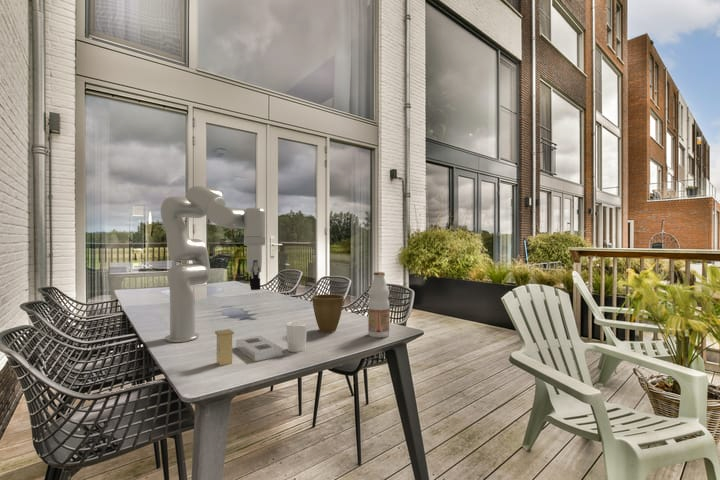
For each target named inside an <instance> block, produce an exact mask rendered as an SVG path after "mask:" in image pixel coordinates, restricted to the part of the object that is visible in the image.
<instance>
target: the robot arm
mask: <svg viewBox="0 0 720 480" xmlns="http://www.w3.org/2000/svg"><path fill="white" fill-rule="evenodd" d="M185 195H186V197H185V196H169V197H166V198H164V200H163V201H162V202H161V203H162V204H161V206H160V216H161V217H160V218H161V220H162V224H163V226H164V230H165V235H166V245H167V250H168V256H169V258H170V260H172V261H175V262H189V261H190V262H192V263H178V264H175V265H172V266H171V267H170V268H169V269H168V270H167V274H166V275H167V276H166V277H167V283H168V289H169V335H166V336H165V341H166V342H168V343H183V342H184V343H185V342H190V341H194V340H196V339H198V338H199V337H200V335H199V334H200V333H198V332H196V312H195V311H196V295H195V292H194V290H192V287H191V286H198V285H203V284H206V283H207V282H209V280H210V278H211V265H210V264H211V263H210V259H209V258H210V256H209V250H208V247H207V245H206V243H205V242H204V241H203V240H201V239H197V238H190V236H189V230H188V226H187V225H186V224H185V222H184V221H183V220H182V218H194V219H201V218H203V217H206V216H207V218H208V219H209V221H211V222H212V223H214V224H215V225H217V226H219V227H222V228H225V229H243V246H245V247H246V273H247V274H250V276H249V286H250V290H251V291H259V290H261V278H260V275H261V274H260V273H261V272H262V263H263V246H266V212H265V209H264V208H261V207H247V208H238V207H229V206H228V207H227V206H226V200H225V198H224V195H223V193H222V192H221V190H219V189H218V188H215V187H209V186H202V185H194V186H191V187H190V188H188V190H187V191H186V194H185Z"/></svg>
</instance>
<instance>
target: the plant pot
mask: <svg viewBox="0 0 720 480" xmlns="http://www.w3.org/2000/svg"><path fill="white" fill-rule="evenodd" d="M311 300H312V301H311V302H312V308H313V313H314V317H315V321H316V323H317V326H318V330H319V331H320V332H321V333H334V332H336V330H337V328H338V325H339V322H340V319H341V315H342V311H343V306H344V301H345V296H344V295H340V294H328V293H327V294H316V295H312V298H311Z"/></svg>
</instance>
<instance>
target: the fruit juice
mask: <svg viewBox="0 0 720 480" xmlns="http://www.w3.org/2000/svg"><path fill="white" fill-rule="evenodd" d="M385 275H386V274H385V272H384V271H373V280H372V283H371V286H370V287H369V289H368V295H369V296H368V297H369V301H368V306H367V307H368V311H367V313H368V317H367V318H368V319H367V321H368V322H367V323H368V325H367V327H368V328H367V329H368V332H367V333H368V336H370V337H371V338H376V339H377V338H381V337H382V338H387V337H389V336H390V313H391V312H390V308H391V307H390V300H389V297H390V289H389V287H388V284H387V283H386V279H385Z"/></svg>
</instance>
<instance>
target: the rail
mask: <svg viewBox="0 0 720 480" xmlns="http://www.w3.org/2000/svg"><path fill="white" fill-rule="evenodd" d="M235 348H236V349H237V350H238V351H240V352H241V353H242V354H244V355H246V356H247V357H248V358H250V359H251V360H252V361H254V362H259V361H265V360H269V359H274V358H280V357H283V347H281V346H280V345H278V344H277V343H274V342H273V341H271V340H270V339H267V338H265V337H263V336H262V335H258V336H252V337H251V336H250V337H247V338H246V337H245V338H239V339H236V340H235Z"/></svg>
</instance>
